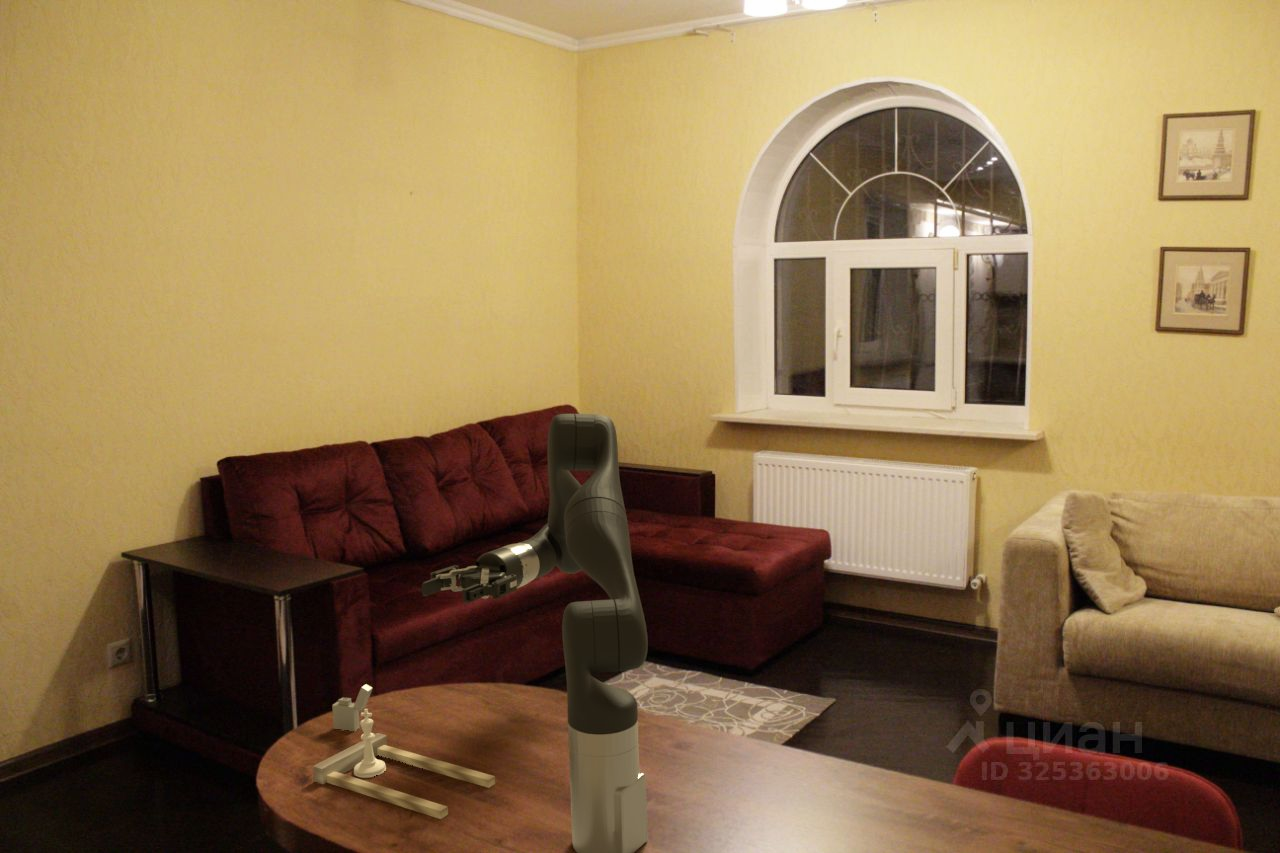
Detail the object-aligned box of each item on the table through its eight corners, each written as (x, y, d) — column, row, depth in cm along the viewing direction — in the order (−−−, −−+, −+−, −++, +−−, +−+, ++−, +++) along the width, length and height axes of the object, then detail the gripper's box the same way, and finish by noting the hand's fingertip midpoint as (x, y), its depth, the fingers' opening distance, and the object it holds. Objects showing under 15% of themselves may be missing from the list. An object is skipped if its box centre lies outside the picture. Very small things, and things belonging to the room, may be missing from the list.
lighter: (333, 729, 179) (330, 684, 178) (339, 725, 181) (336, 680, 180) (370, 733, 177) (367, 687, 176) (375, 729, 179) (372, 684, 178)
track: (498, 781, 158) (497, 766, 158) (437, 821, 147) (436, 804, 147) (378, 747, 171) (377, 732, 171) (313, 781, 160) (312, 766, 160)
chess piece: (377, 779, 160) (373, 716, 159) (347, 776, 161) (343, 714, 160) (391, 764, 165) (387, 703, 164) (362, 762, 166) (358, 702, 165)
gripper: (474, 542, 184) (408, 565, 170) (540, 551, 176) (476, 575, 162) (476, 584, 185) (411, 610, 171) (541, 595, 177) (479, 622, 163)
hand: (443, 593), depth 167 cm, fingers open, 8 cm apart
